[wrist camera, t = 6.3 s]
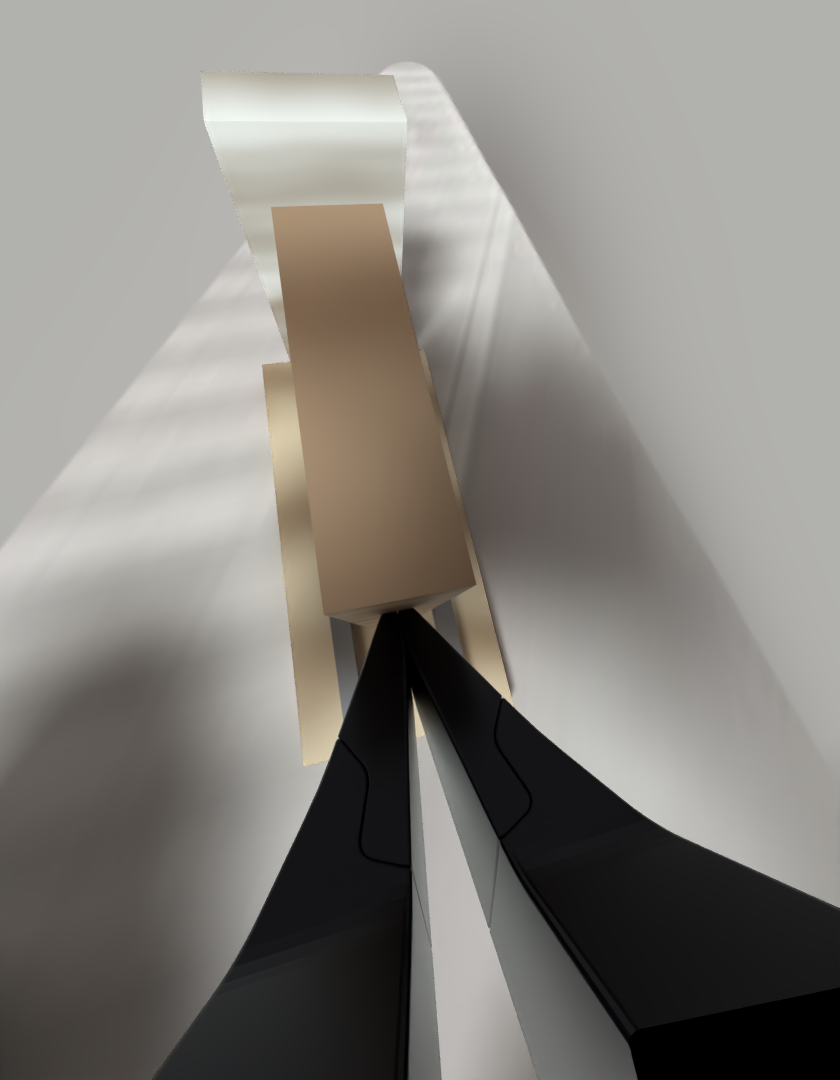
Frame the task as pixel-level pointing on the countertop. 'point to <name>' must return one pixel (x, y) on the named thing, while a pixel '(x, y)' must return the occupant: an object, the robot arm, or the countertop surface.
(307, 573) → the track
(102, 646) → the countertop surface
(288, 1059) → the robot arm
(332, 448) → the door
